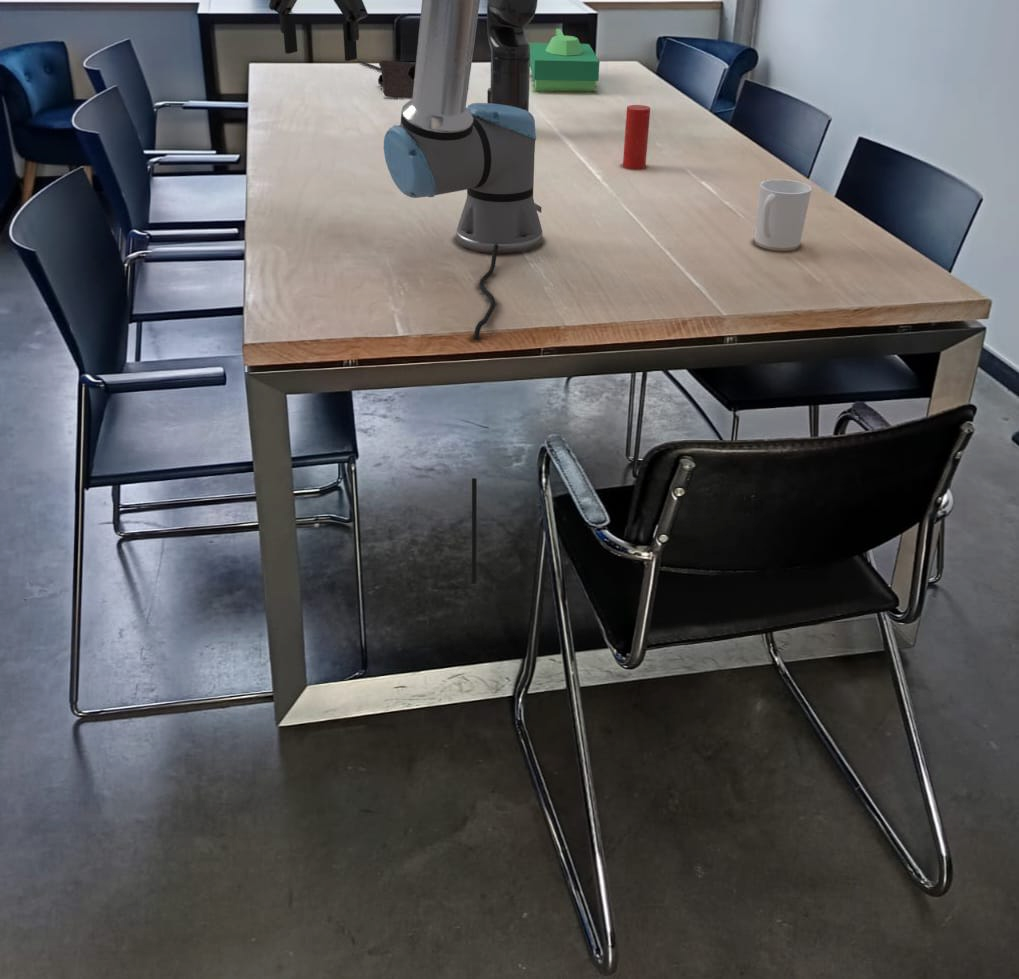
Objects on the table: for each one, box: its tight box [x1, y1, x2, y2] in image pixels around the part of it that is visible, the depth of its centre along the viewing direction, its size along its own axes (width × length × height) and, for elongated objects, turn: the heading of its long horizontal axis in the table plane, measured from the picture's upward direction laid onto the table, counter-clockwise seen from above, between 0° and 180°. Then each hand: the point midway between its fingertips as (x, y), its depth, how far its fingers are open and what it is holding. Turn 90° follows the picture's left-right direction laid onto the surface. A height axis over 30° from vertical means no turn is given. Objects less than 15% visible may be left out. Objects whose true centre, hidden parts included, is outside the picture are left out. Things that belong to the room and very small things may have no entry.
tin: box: [622, 104, 651, 170], centre depth 236 cm, size 5×5×12 cm
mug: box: [754, 178, 812, 252], centre depth 194 cm, size 11×9×10 cm
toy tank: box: [529, 28, 601, 92], centre depth 313 cm, size 18×12×35 cm
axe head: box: [377, 59, 416, 99], centre depth 299 cm, size 18×8×15 cm
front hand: (320, 56), depth 202 cm, fingers open, 13 cm apart
